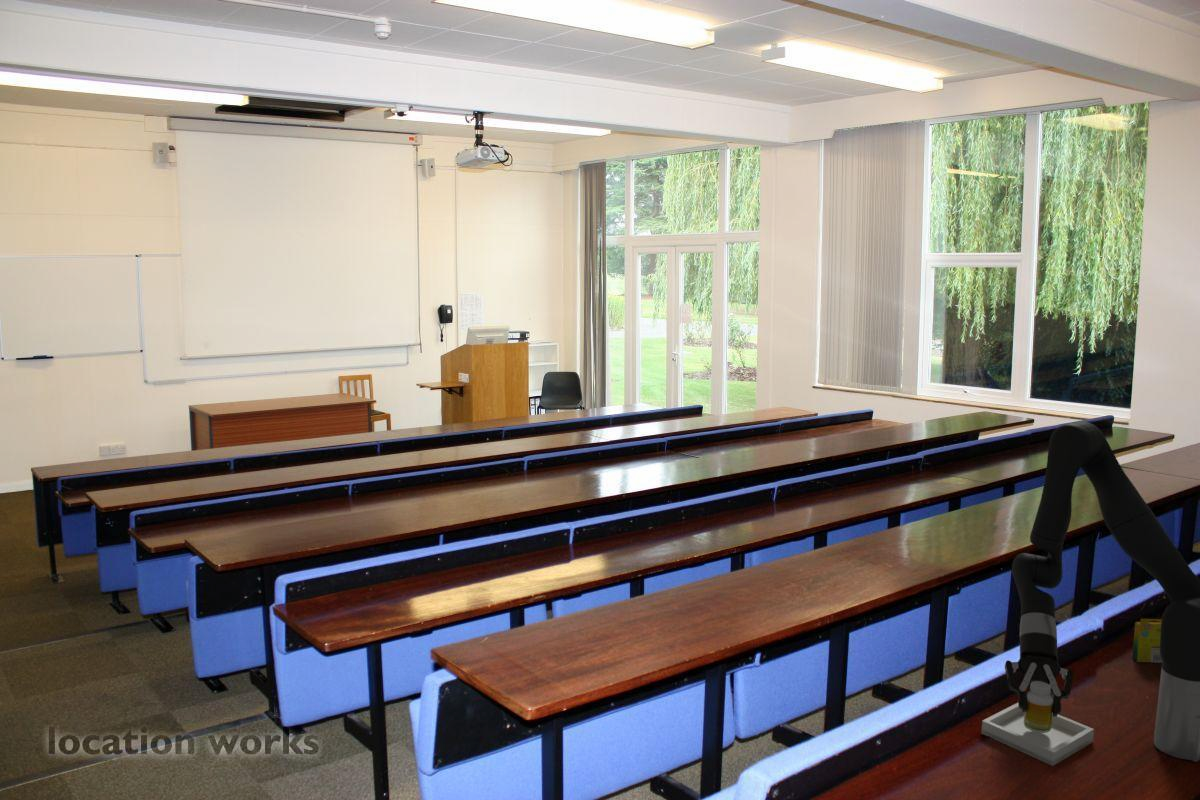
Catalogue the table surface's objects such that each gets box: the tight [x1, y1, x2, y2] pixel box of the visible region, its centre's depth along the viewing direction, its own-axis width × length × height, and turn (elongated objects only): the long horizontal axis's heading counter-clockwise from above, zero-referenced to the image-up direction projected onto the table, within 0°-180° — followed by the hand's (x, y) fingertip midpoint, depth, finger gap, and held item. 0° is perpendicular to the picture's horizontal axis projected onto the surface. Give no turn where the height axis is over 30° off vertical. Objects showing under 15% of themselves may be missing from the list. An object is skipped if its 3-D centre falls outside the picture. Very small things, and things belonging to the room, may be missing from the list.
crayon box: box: [1131, 618, 1162, 664], centre depth 241 cm, size 7×3×12 cm, turn 84°
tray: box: [980, 702, 1095, 767], centre depth 204 cm, size 16×16×3 cm
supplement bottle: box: [1024, 681, 1053, 733], centre depth 203 cm, size 5×5×10 cm
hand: (1039, 712), depth 201 cm, fingers closed on supplement bottle, 5 cm apart
